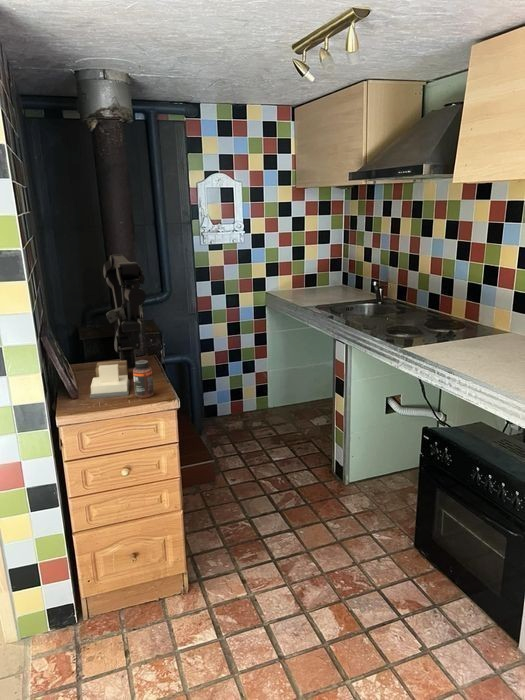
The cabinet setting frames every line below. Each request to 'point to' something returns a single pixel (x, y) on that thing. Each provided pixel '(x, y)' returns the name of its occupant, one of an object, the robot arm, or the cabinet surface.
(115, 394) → the mat
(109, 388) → the lid
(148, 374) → the supplement bottle
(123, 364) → the storage box
